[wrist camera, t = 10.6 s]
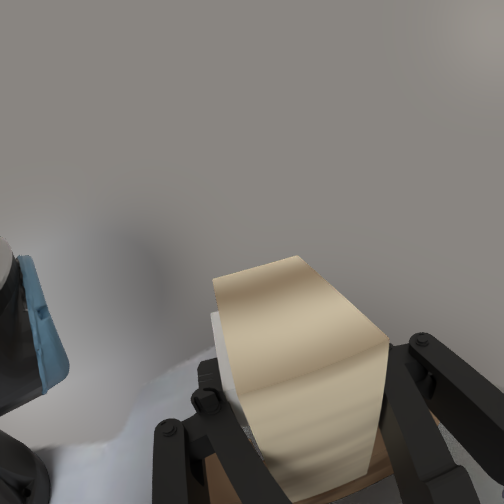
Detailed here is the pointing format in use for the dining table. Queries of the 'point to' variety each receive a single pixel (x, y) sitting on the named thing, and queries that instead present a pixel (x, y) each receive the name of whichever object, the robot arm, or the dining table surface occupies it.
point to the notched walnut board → (380, 467)
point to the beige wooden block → (303, 373)
